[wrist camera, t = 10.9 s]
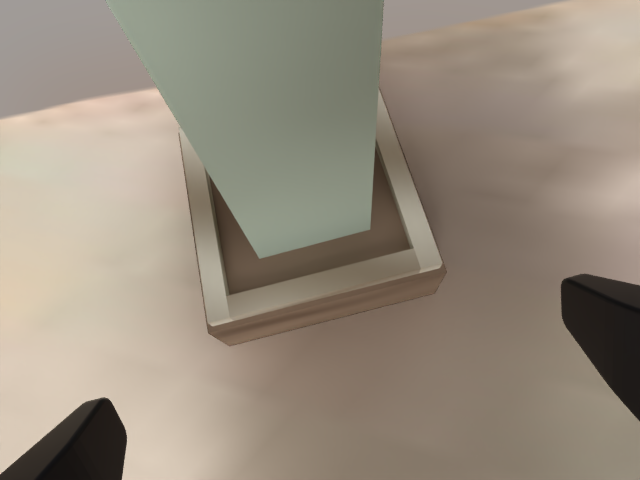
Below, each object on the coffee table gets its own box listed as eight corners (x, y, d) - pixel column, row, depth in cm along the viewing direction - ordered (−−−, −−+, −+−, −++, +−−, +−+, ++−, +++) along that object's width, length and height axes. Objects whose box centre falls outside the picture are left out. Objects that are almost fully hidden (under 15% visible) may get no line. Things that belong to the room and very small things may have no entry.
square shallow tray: (434, 293, 20) (449, 266, 16) (229, 346, 20) (202, 329, 16) (375, 124, 23) (378, 73, 20) (200, 167, 23) (173, 124, 20)
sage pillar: (370, 229, 18) (390, -130, 6) (259, 258, 18) (74, -52, 6) (340, 137, 20) (313, -283, 8) (238, 163, 19) (62, -223, 8)
